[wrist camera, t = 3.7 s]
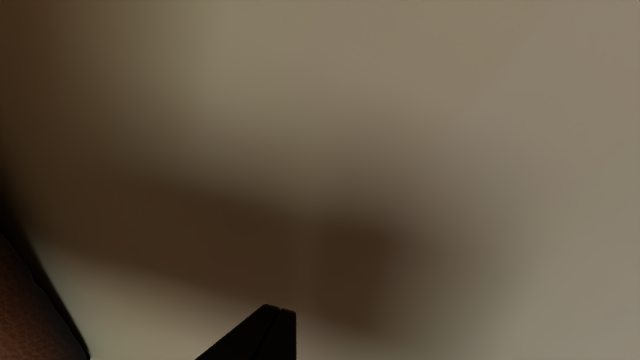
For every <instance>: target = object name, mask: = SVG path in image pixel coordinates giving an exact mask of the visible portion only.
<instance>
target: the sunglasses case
mask: <svg viewBox="0 0 640 360" xmlns="http://www.w3.org/2000/svg"><path fill="white" fill-rule="evenodd" d="M0 360H90V358H88V357H87V356H86V355H85V353H84V351H83V349H82V347H81V345H80V344H79V343H78V341H77V340H76V339H75V338H74V337H73V335H72V333H71V331H70V329H69V327H68V326H67V324H66V323H65V322H64V320H63V319H62V318H61V316H60V315H59V314H58V312H57V311H56V310H55V309H54V307H53V305H52V303H51V301H50V299H49V297H48V295H47V294H46V293H45V292H44V291H43V290H42V289H41V288H40V287H38V286H37V285H35V283H34V280H33V277H32V275H31V272H30V269H29V268H28V267H27V265H26V264H25V263H24V261H23V260H22V259H21V258H20V256H19V255H18V254H17V253H16V251H15V250H14V249H13V248H12V247H11V245H10V244H9V243H8V242H7V241H6V239H5V238H4V237H3V236H2V234H1V233H0Z"/></svg>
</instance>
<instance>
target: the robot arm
mask: <svg viewBox="0 0 640 360" xmlns="http://www.w3.org/2000/svg"><path fill="white" fill-rule="evenodd" d="M195 360H296V312H294V311H291V310H287V309H283V308H282V309H280V308H279V307H276V306H272V305H269V304H264V305H262V306H261V307H260V308H259V309H257V310H256V311H255V312H254V313H252V314H251V315H250V316H249V317H247V318H246V319H245V320H244V321H242V322H241V323H240V324H239V325H237V326H236V327H235V328H234V329H232V330H231V331H230V332H229V333H227V334H226V335H225V336H224V337H222V338H221V339H220V340H219V341H217V342H216V343H215V344H214V345H213V346H211V347H210V348H209V349H208V350H206V351H205V352H204V353H203V354H201V355H200V356H199V357H198V358H196V359H195Z"/></svg>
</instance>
